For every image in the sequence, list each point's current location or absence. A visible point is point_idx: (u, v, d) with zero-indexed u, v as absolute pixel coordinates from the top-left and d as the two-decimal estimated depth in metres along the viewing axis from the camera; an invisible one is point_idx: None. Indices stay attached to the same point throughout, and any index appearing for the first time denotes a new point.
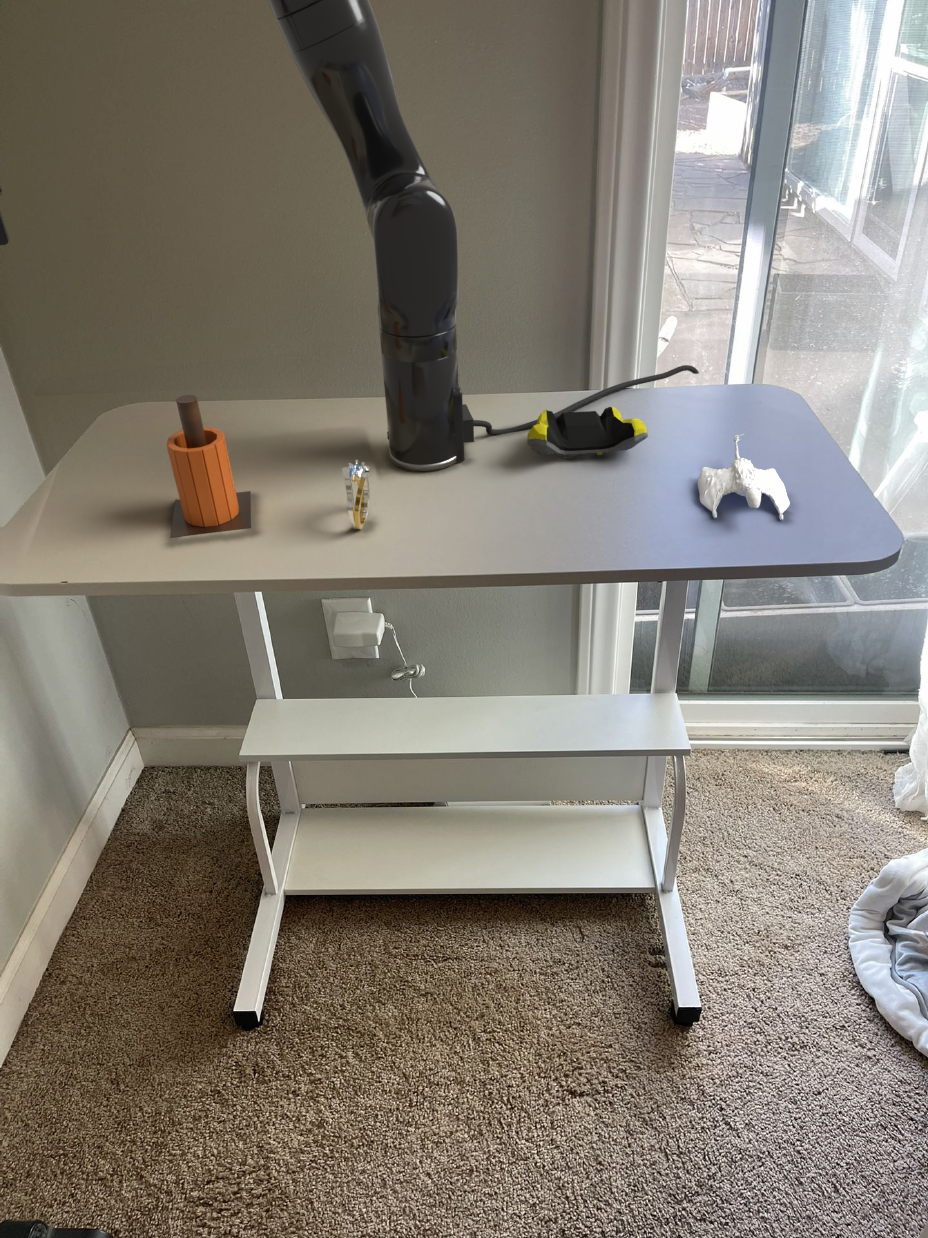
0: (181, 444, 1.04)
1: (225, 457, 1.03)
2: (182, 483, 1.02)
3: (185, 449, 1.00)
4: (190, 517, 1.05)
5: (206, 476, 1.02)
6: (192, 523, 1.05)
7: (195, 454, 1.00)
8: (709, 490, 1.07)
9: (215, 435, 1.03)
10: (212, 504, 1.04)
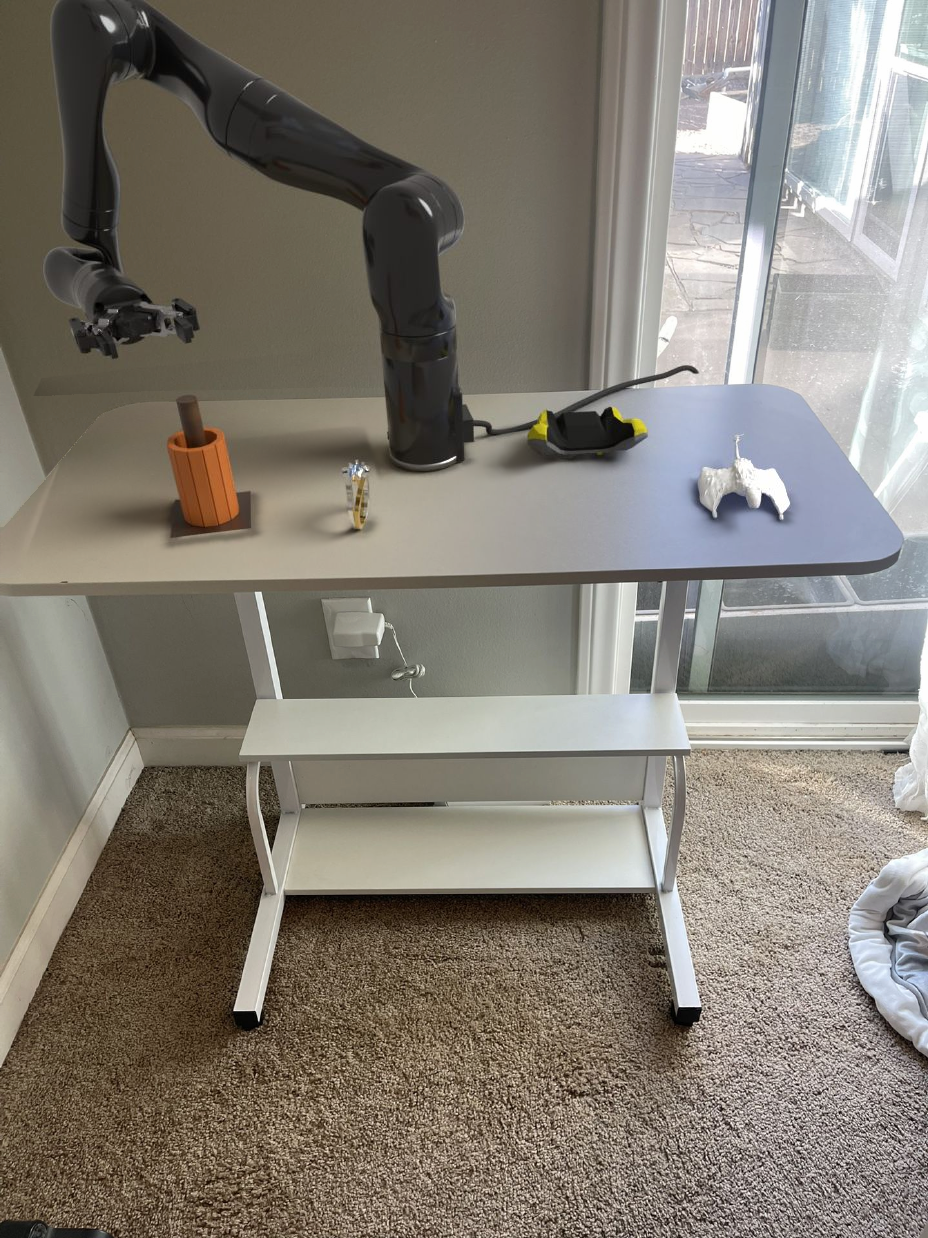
0: (181, 444, 1.04)
1: (225, 457, 1.03)
2: (182, 483, 1.02)
3: (185, 449, 1.00)
4: (190, 517, 1.05)
5: (206, 476, 1.02)
6: (192, 523, 1.05)
7: (195, 454, 1.00)
8: (709, 490, 1.07)
9: (215, 435, 1.03)
10: (212, 504, 1.04)
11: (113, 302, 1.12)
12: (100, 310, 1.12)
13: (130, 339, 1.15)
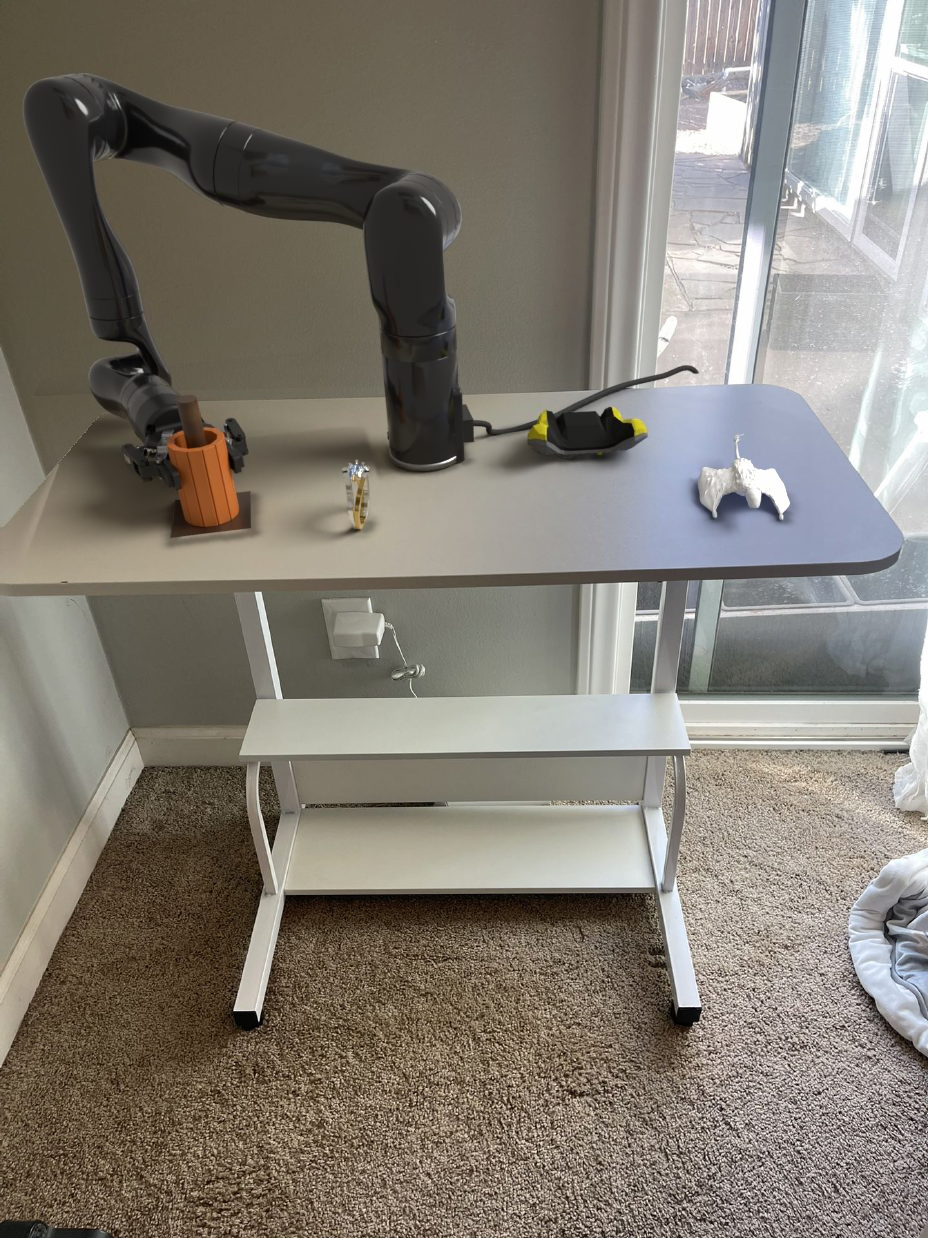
0: (181, 444, 1.04)
1: (226, 457, 1.03)
2: (182, 483, 1.02)
3: (185, 449, 1.00)
4: (190, 517, 1.05)
5: (206, 476, 1.02)
6: (192, 523, 1.05)
7: (195, 454, 1.00)
8: (709, 490, 1.07)
9: (215, 435, 1.03)
10: (212, 504, 1.04)
11: (165, 423, 1.09)
12: (152, 432, 1.09)
13: None
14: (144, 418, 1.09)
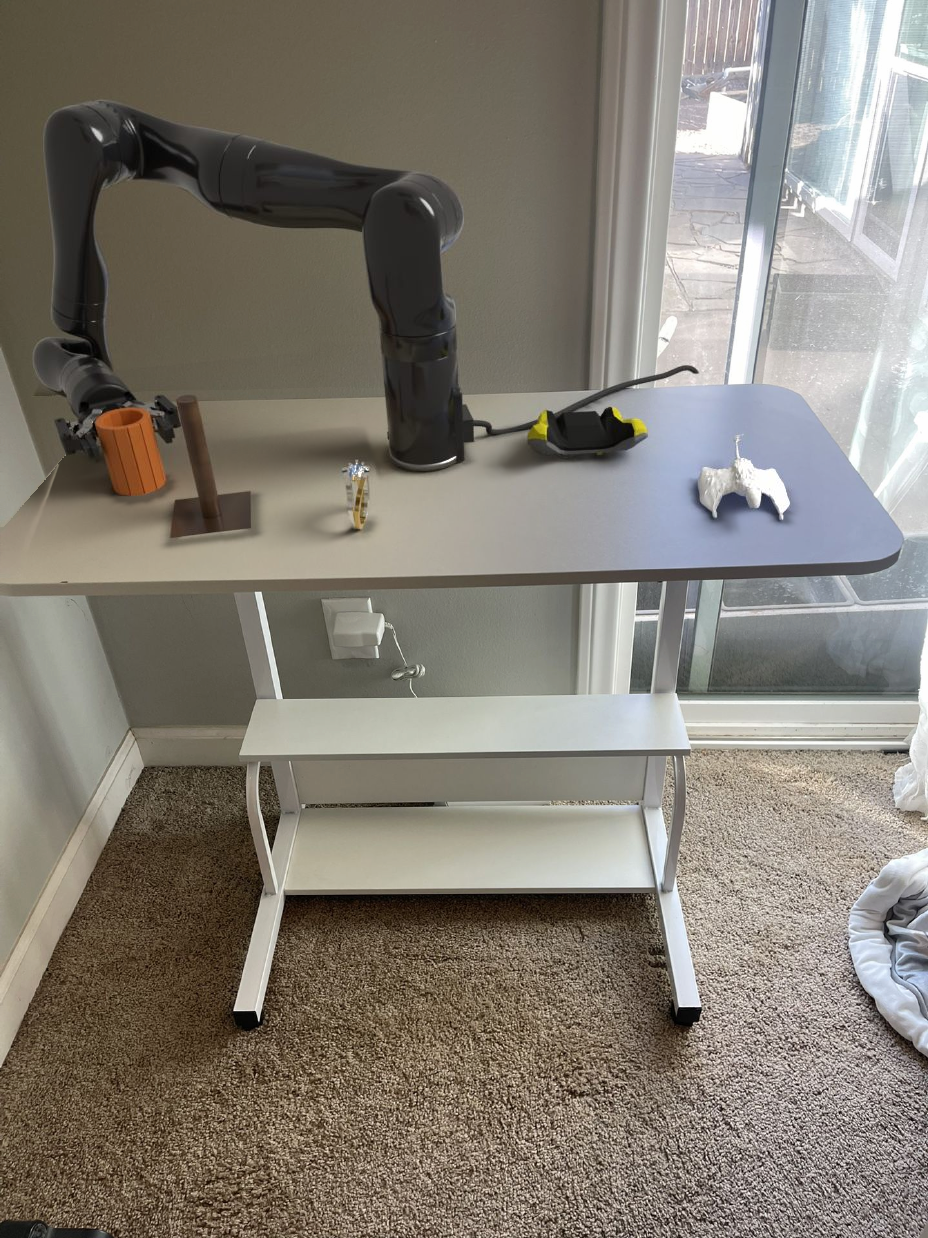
0: (110, 423, 1.11)
1: (151, 435, 1.10)
2: (110, 459, 1.10)
3: (111, 427, 1.07)
4: (119, 492, 1.12)
5: (132, 453, 1.09)
6: None
7: (120, 432, 1.07)
8: (709, 490, 1.07)
9: (141, 415, 1.10)
10: (139, 479, 1.11)
11: (98, 400, 1.16)
12: (85, 409, 1.16)
13: None
14: (78, 396, 1.16)
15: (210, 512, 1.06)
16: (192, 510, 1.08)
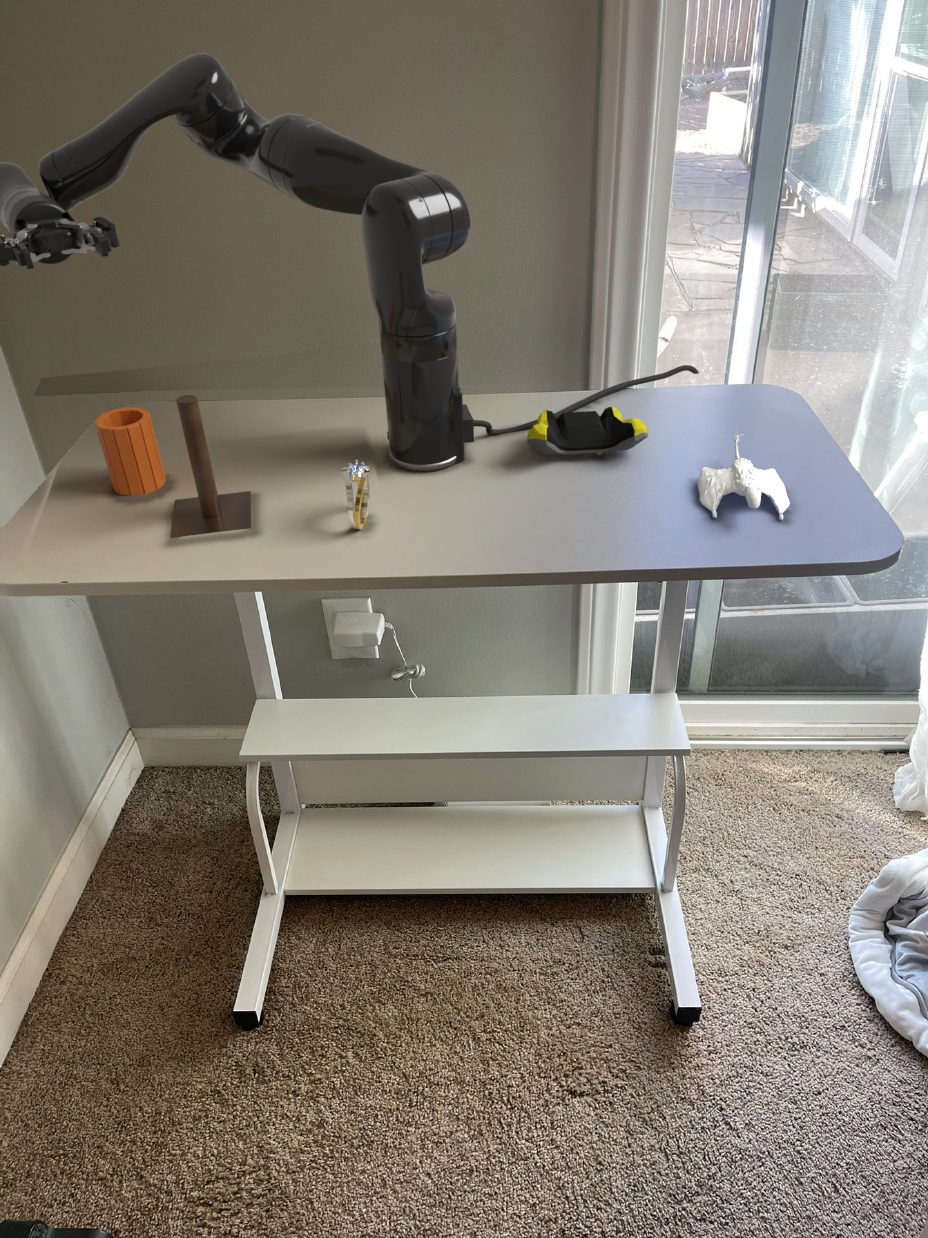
0: (110, 423, 1.11)
1: (151, 435, 1.10)
2: (110, 459, 1.10)
3: (111, 427, 1.07)
4: (119, 492, 1.12)
5: (132, 453, 1.09)
6: None
7: (120, 432, 1.07)
8: (709, 490, 1.07)
9: (141, 415, 1.10)
10: (139, 479, 1.11)
11: (35, 219, 1.14)
12: (22, 227, 1.13)
13: (53, 258, 1.17)
14: (14, 214, 1.14)
15: (210, 512, 1.06)
16: (192, 510, 1.08)
